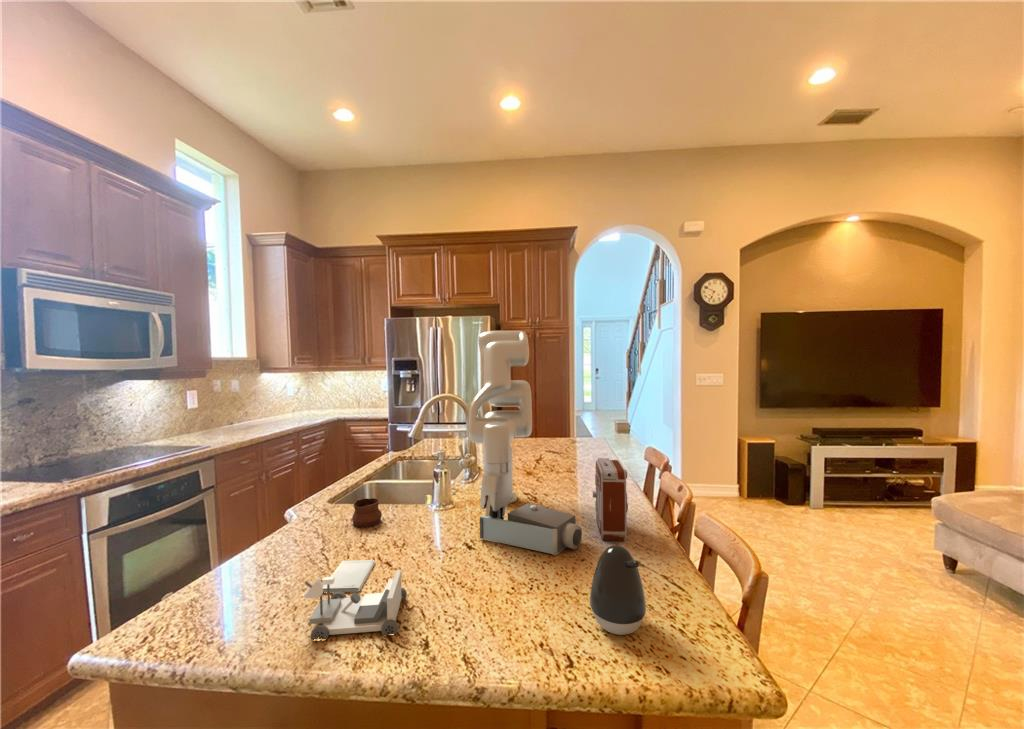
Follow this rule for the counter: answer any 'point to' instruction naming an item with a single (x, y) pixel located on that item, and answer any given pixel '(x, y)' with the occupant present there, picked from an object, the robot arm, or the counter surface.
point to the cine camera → (611, 499)
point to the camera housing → (550, 523)
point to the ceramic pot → (366, 513)
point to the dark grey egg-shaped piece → (617, 592)
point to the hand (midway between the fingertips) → (497, 531)
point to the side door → (519, 534)
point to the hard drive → (350, 576)
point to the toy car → (355, 609)
